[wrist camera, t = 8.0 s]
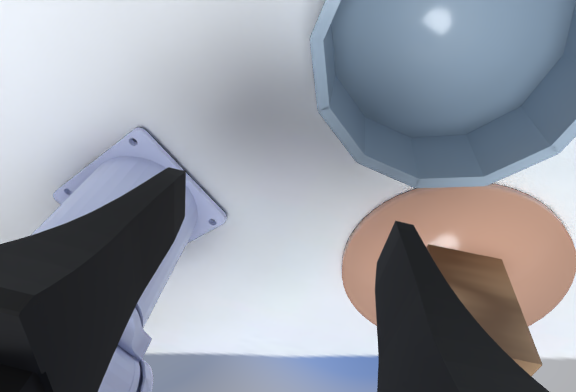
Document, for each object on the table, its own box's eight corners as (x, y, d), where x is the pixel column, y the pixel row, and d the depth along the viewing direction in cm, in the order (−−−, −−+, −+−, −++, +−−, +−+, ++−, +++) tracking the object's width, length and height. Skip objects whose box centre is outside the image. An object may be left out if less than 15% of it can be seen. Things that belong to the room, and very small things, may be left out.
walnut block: (405, 291, 27) (415, 391, 22) (428, 244, 25) (446, 344, 19) (471, 305, 27) (499, 410, 22) (501, 259, 25) (542, 364, 19)
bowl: (397, 173, 23) (402, 223, 20) (277, 6, 19) (255, 29, 15) (618, 61, 18) (681, 99, 14) (520, -202, 14) (574, -240, 10)
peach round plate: (402, 352, 33) (403, 361, 32) (302, 238, 27) (300, 247, 26) (600, 301, 26) (605, 311, 26) (522, 138, 21) (527, 146, 20)
